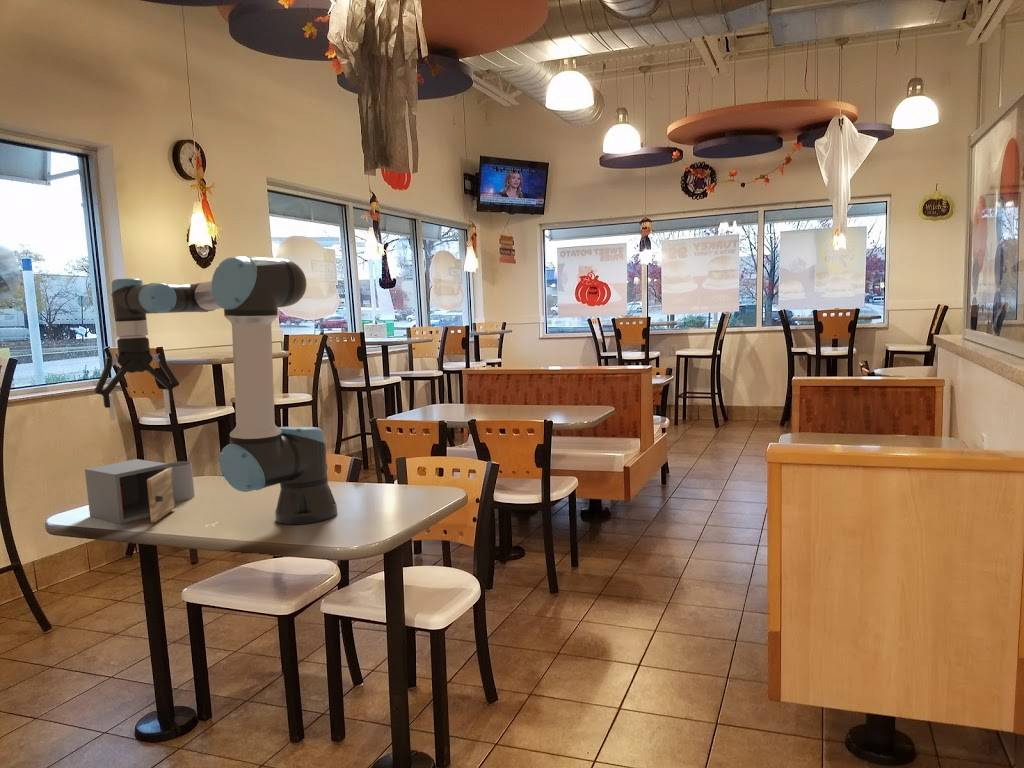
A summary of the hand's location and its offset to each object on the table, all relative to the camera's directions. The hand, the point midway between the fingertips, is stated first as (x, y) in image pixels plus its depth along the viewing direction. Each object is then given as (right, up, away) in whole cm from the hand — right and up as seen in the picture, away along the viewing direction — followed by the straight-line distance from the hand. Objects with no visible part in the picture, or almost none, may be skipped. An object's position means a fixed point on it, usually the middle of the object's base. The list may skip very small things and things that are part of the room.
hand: (141, 416), depth 196 cm
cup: (+3, -25, +16) cm, 30 cm away
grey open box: (-3, -26, +1) cm, 27 cm away
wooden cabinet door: (+9, -26, -5) cm, 27 cm away
